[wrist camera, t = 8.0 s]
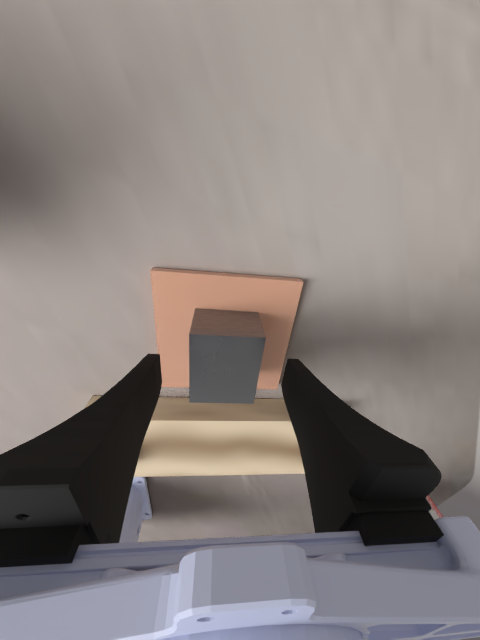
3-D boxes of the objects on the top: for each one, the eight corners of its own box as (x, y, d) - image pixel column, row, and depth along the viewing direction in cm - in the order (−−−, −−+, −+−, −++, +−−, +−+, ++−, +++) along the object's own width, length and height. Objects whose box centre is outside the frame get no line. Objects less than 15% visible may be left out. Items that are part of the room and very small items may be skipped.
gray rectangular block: (248, 371, 17) (253, 403, 14) (194, 369, 17) (189, 402, 14) (258, 311, 15) (265, 337, 12) (195, 308, 14) (188, 333, 12)
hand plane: (311, 450, 24) (327, 495, 20) (109, 452, 22) (87, 502, 18) (333, 399, 20) (356, 443, 17) (92, 395, 18) (61, 444, 14)
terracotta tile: (275, 383, 19) (277, 389, 18) (162, 381, 18) (161, 386, 17) (300, 278, 14) (303, 281, 14) (153, 267, 13) (150, 270, 13)
